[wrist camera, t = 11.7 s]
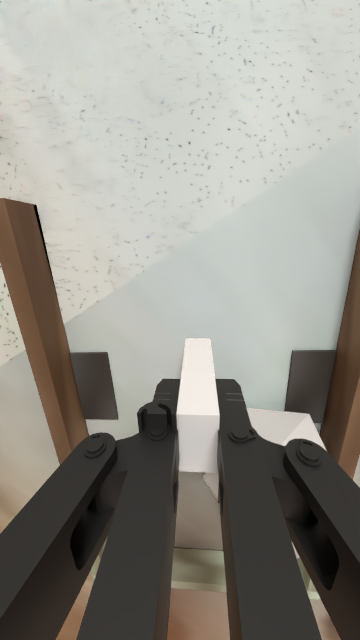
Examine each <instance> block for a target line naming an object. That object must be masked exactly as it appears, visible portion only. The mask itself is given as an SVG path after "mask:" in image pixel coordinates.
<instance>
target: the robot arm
mask: <svg viewBox="0 0 360 640" xmlns="http://www.w3.org/2000/svg"><path fill="white" fill-rule="evenodd" d="M137 417H138V426H139V433H138V434H136V435H134V436H132V437H129V438H125V439H121V440H117V441H115V439H114V437H113V436H112V435H110V434H108V433H96V434H92V435H90V436H88V437H86V438H85V439H84V440H82V441H81V442H80V443H79V444H78V445H77V446H76V448H75V449H74V450H73V451H72V452H71V453H70V454H69V456H68V457H67V458H66V459H65V460H64V461H63V463H62V464H61V465H60V466H59V467H58V468H57V469H56V471H55V472H54V473H53V474H52V475H51V476H50V477H49V479H48V480H47V481H46V482H45V483H44V484H43V485H42V487H41V488H40V489H39V490H38V491H37V492H36V494H35V495H34V496H33V497H32V498H31V499H30V500H29V502H28V503H27V504H26V505H25V506H24V507H23V508H22V510H21V511H20V512H19V513H18V514H17V515H16V516H15V518H14V519H13V520H12V521H11V522H10V523H9V525H8V526H7V527H6V528H5V529H4V530H3V531H2V533H1V534H0V640H56V638H57V636H58V634H59V632H60V630H61V628H62V626H63V624H64V622H65V620H66V618H67V616H68V614H69V612H70V610H71V608H72V606H73V604H74V602H75V600H76V598H77V596H78V594H79V592H80V590H81V588H82V586H83V584H84V582H85V580H86V578H87V576H88V574H89V572H90V570H91V568H92V566H93V564H94V562H95V560H96V558H97V556H98V554H99V552H100V550H101V548H102V546H103V544H104V542H105V541H106V544H105V547H104V550H103V554H102V557H101V560H100V563H99V567H98V570H97V573H96V577H95V580H94V583H93V587H92V590H91V593H90V597H89V600H88V603H87V607H86V610H85V613H84V616H83V620H82V623H81V626H80V630H79V633H78V636H77V640H167V632H168V618H169V605H170V592H171V579H172V566H173V553H174V540H175V526H176V513H177V500H178V487H179V485H178V472H179V471H186V472H207V473H218V475H219V483H218V503H220V515H221V528H222V541H223V553H224V566H225V579H226V591H227V604H228V617H229V629H230V640H322V639H321V636H320V632H319V629H318V626H317V623H316V619H315V616H314V613H313V610H312V606H311V603H310V600H309V597H308V593H307V590H306V587H305V584H304V580H303V577H302V574H301V571H300V567H299V564H298V561H297V558H296V554H295V551H294V548H293V545H294V547H295V549H296V551H297V553H298V555H299V557H300V559H301V561H302V563H303V565H304V567H305V569H306V571H307V573H308V575H309V577H310V579H311V581H312V583H313V585H314V587H315V589H316V591H317V593H318V594H319V596H320V598H321V600H322V602H323V604H324V606H325V608H326V610H327V612H328V614H329V616H330V618H331V620H332V622H333V624H334V626H335V628H336V630H337V632H338V634H339V636H340V638H341V640H360V488H359V487H358V486H357V484H356V483H355V482H354V481H353V480H352V479H351V478H350V477H349V475H348V474H347V473H346V472H345V471H344V470H343V469H342V468H341V467H340V465H339V464H338V463H337V462H336V461H335V460H334V459H333V458H332V456H331V455H330V454H329V453H328V452H327V451H326V450H325V449H324V448H322V447H321V446H320V445H318V444H316V443H314V442H313V441H310V440H306V439H298V438H295V439H292V440H290V441H289V442H288V443H287V444H286V446H283V445H280V444H276V443H273V442H270V441H268V440H266V439H264V438H262V437H261V436H259V435H258V433H257V431H256V430H255V429H254V428H253V427H252V425H251V422H250V419H249V415H248V412H247V408H246V405H245V401H244V398H243V395H242V391H241V387H240V385H239V384H238V383H237V382H236V381H235V380H234V379H215V373H214V365H213V357H212V349H211V341H210V338H186V341H185V349H184V357H183V365H182V373H181V379H162V381H161V382H160V383H159V384H158V385H157V388H156V391H155V395H154V399H153V402H150V403H148V404H145V405H144V406H143V407H141V408H140V409H139V411H138V413H137ZM106 539H107V540H106ZM292 543H293V545H292Z"/></svg>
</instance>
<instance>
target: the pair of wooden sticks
mask: <svg viewBox="0 0 360 640" xmlns="http://www.w3.org/2000/svg"><path fill="white" fill-rule="evenodd" d="M0 263H1V266H2V270H3V273H4V277H5V280H6V283H7V287H8V290H9V294H10V297H11V300H12V304H13V307H14V311H15V314H16V317H17V321H18V324H19V327H20V331H21V334H22V338H23V341H24V344H25V348H26V351H27V355H28V358H29V361H30V365H31V368H32V372H33V375H34V378H35V382H36V385H37V388H38V392H39V395H40V399H41V402H42V405H43V409H44V412H45V416H46V419H47V422H48V426H49V429H50V433H51V436H52V439H53V443H54V446H55V449H56V453H57V456H58V460H59V463H60V465H61V464H62V463H63V461H64V460H65V459H66V458H67V457H68V456H69V454H70V453H71V452H72V451H73V450H74V449H75V448H76V446H77V445H78V444H79V443H80V442H81V441H82V440H84V439H85V438H86V437H88V436H89V435H88V430H87V426H86V422H85V419H118V413H117V407H116V401H115V395H114V389H113V383H112V377H111V371H110V365H109V359H108V353H107V352H89V353H70V351H69V347H68V342H67V338H66V333H65V329H64V325H63V320H62V316H61V311H60V307H59V303H58V298H57V294H56V289H55V285H54V281H53V276H52V272H51V267H50V263H49V259H48V254H47V250H46V245H45V241H44V237H43V232H42V228H41V223H40V219H39V215H38V210H37V206H36V205H33V204H29V203H24V202H19V201H15V200H10V199H5V198H0ZM285 412H295V413H306V414H309V415H310V417H311V419H312V421H313V422H317V423H322V427H321V432H320V438H321V440H322V442H323V444H324V446H325V448H326V451H327V452H328V453H329V454H330V455H331V456H332V458H333V459H334V460H335V461H336V462H337V463H338V464H339V465H340V467H341V468H342V469H343V470H344V471H345V472H346V473H347V474H348V475H349V477H350V478H351V479H352V480H353V477H354V473H355V469H356V466H357V462H358V459H359V455H360V232H359V237H358V242H357V247H356V253H355V258H354V263H353V268H352V273H351V278H350V283H349V288H348V294H347V299H346V304H345V309H344V314H343V319H342V324H341V329H340V335H339V340H338V345H337V350H336V351H335V350H304V351H292V357H291V365H290V373H289V381H288V389H287V397H286V405H285ZM106 540H107V539H106ZM105 544H106V541H105V542H104V544H103V546H102V548H101V550H100V552H99V554H98V556H97V558H96V560H95V562H94V564H93V566H92V568H91V571H92V575H93V578H94V580H95V577H96V573H97V570H98V567H99V563H100V560H101V557H102V554H103V550H104V547H105ZM297 561H298V564H299V567H300V571H301V574H302V577H303V580H304V584H305V587H306V590H307V593H308V597H309V599H320V596H319V594H318V593H317V591H316V589H315V587H314V585H313V583H312V581H311V579H310V577H309V575H308V573H307V571H306V569H305V567H304V565H303V563H302V561H301V559H300V558H297ZM171 588H176V589H189V590H202V591H215V592H227V591H226V579H225V566H224V553H223V551H216V550H200V549H184V548H174V553H173V566H172V579H171Z"/></svg>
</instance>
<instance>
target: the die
mask: <svg viewBox="0 0 360 640" xmlns="http://www.w3.org/2000/svg"><path fill="white" fill-rule="evenodd" d="M247 412H248V415H249V419H250V422H251V425H252V427H253V428H254V429H255V430H256V431H257V433H258V435H259V436H261V437H262V438H264V439H266V440H268V441H270V442H273V443H276V444H280V445H283V446H286V444H287V443H288V442H289V441H290V440H292V439H295V438H298V439H306V440H310V441H313V442H314V443H316V444H318V445H320V446H321V447H322V448H324V449H325V450H326V448H325V446H324V444H323V442H322V440H321V438H320V436H319V434H318V431H317V429H316V427H315V425H314V423H313V421H312V419H311V417H310V415H309V414H306V413H295V412H285V411H275V410H264V409H254V408H247ZM203 480H204V481H205V483H206V484H207V486H208V488H209V489H210V491H211V492H212V494H213V495H214V497H215V498H216V500H217V501H218V483H219V475H218V473H207V472H205V474H204V476H203ZM219 504H220V503H219ZM292 545H293V543H292ZM293 548H294V551H295V554H296V558H300V557H299V555H298V553H297V551H296V549H295V547H294V545H293Z"/></svg>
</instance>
